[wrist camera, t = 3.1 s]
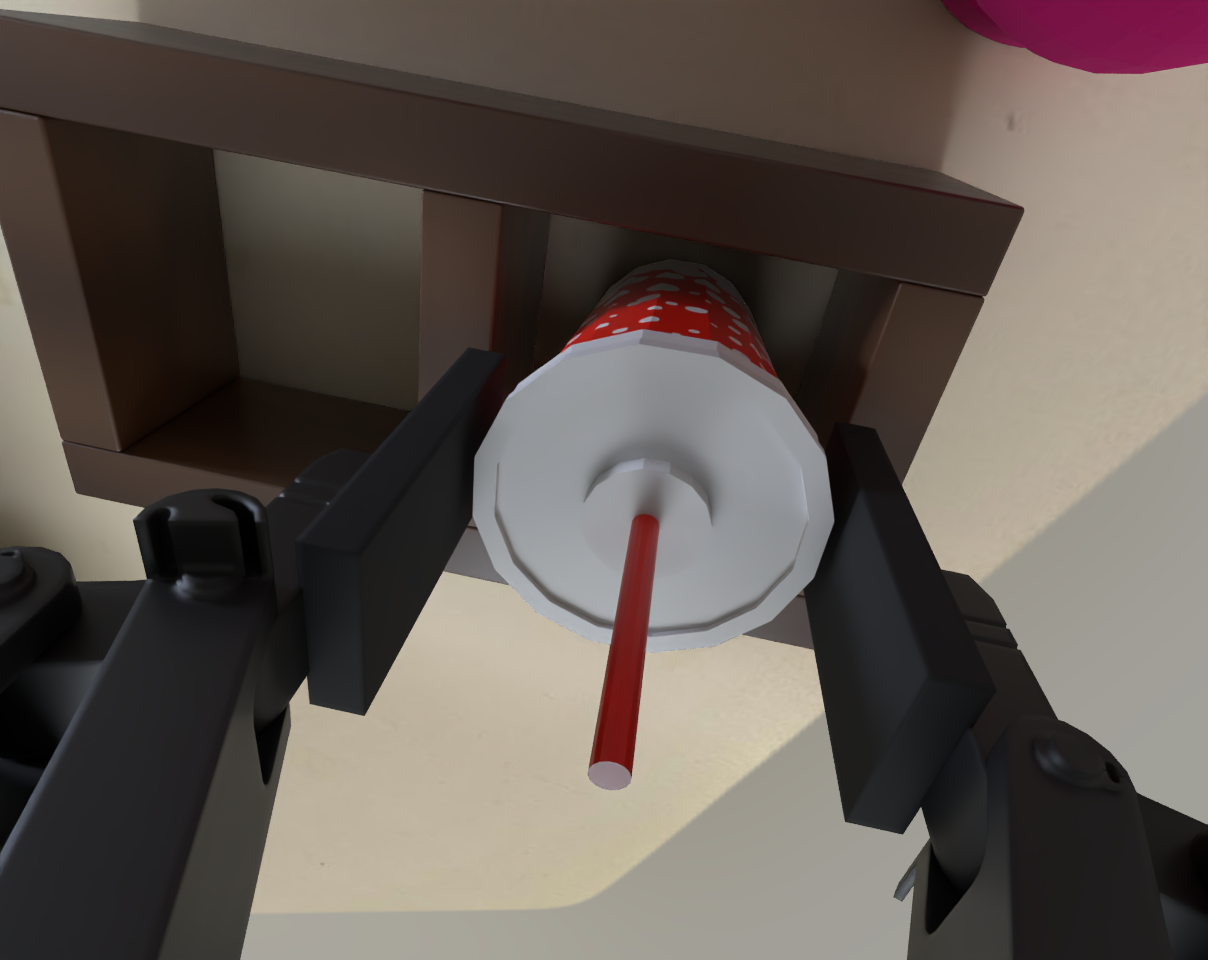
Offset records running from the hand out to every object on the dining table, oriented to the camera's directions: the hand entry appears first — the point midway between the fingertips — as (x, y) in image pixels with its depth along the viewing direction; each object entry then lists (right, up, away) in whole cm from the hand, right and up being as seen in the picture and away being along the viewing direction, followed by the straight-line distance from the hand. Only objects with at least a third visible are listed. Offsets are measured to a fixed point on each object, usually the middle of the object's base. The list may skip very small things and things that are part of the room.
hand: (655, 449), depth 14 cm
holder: (-4, +4, +6) cm, 8 cm away
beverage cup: (+1, +3, +6) cm, 7 cm away
